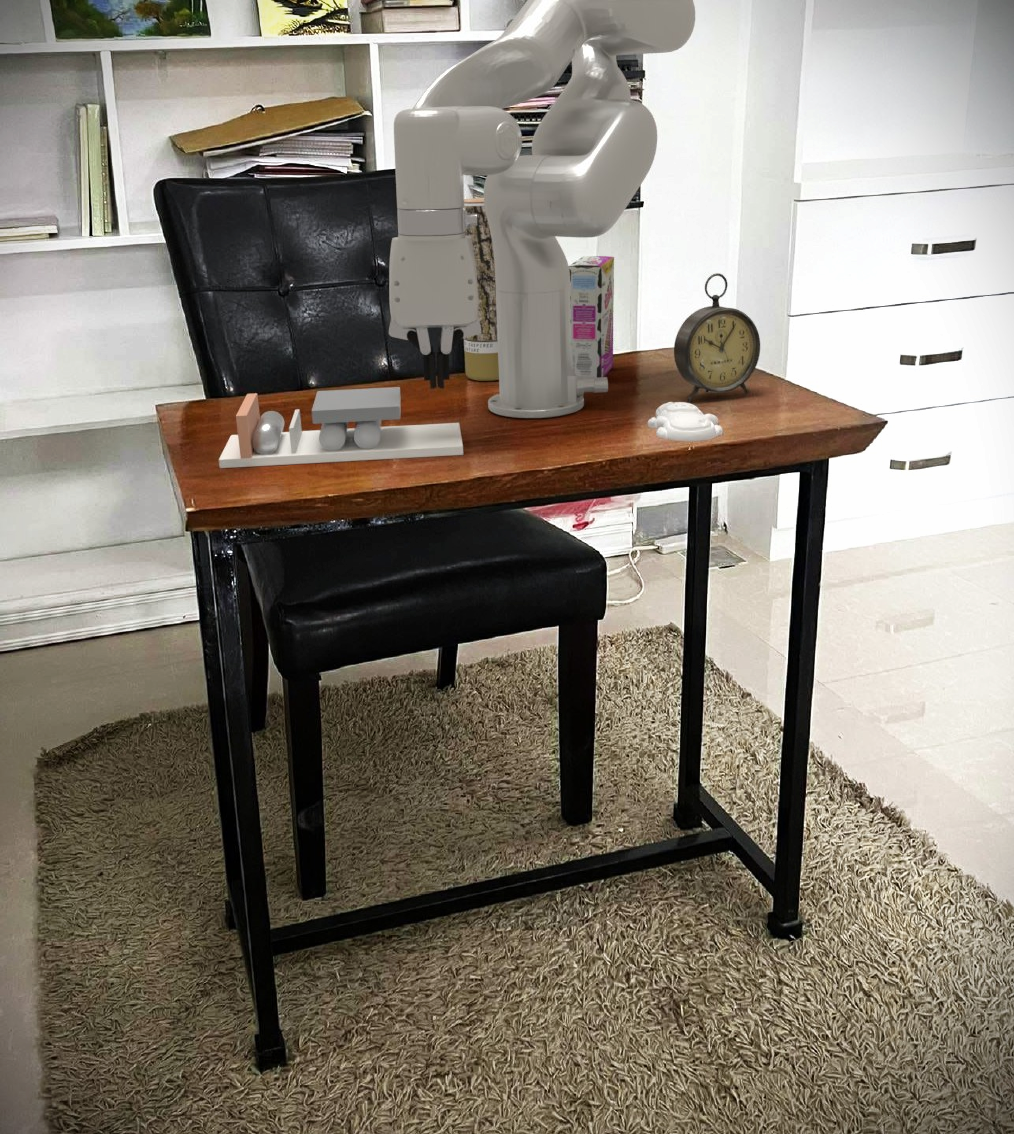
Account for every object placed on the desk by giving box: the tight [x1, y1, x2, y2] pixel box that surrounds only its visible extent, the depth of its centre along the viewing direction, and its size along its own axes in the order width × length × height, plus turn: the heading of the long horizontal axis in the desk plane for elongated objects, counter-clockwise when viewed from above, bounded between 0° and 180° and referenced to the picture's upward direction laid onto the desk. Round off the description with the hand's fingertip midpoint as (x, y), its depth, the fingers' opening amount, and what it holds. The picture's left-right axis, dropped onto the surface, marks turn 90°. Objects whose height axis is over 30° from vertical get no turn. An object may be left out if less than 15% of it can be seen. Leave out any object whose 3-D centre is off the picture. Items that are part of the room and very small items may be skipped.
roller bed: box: [218, 392, 464, 469], centre depth 149 cm, size 28×11×6 cm, turn 94°
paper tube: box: [463, 197, 499, 382], centre depth 179 cm, size 7×7×25 cm
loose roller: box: [252, 410, 285, 455], centre depth 148 cm, size 3×9×3 cm, turn 5°
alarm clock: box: [673, 273, 761, 403], centre depth 165 cm, size 11×5×16 cm, turn 110°
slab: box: [311, 386, 402, 425], centre depth 148 cm, size 10×10×2 cm
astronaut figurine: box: [647, 401, 724, 442], centre depth 153 cm, size 9×12×3 cm
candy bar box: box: [568, 255, 615, 378], centre depth 180 cm, size 11×5×16 cm, turn 166°
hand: (436, 386), depth 147 cm, fingers closed
